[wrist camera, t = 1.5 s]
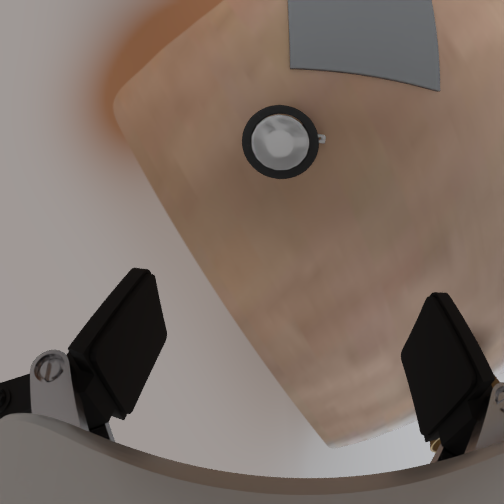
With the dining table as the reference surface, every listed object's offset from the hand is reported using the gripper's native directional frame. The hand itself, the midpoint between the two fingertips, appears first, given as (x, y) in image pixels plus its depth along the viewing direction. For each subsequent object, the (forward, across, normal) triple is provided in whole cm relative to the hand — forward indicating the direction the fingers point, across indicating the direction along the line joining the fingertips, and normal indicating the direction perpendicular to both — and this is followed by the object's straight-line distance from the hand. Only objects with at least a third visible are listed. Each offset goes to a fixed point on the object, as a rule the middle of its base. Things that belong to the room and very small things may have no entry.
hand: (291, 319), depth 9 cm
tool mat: (+22, -7, -18) cm, 29 cm away
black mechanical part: (+22, 0, -4) cm, 22 cm away
